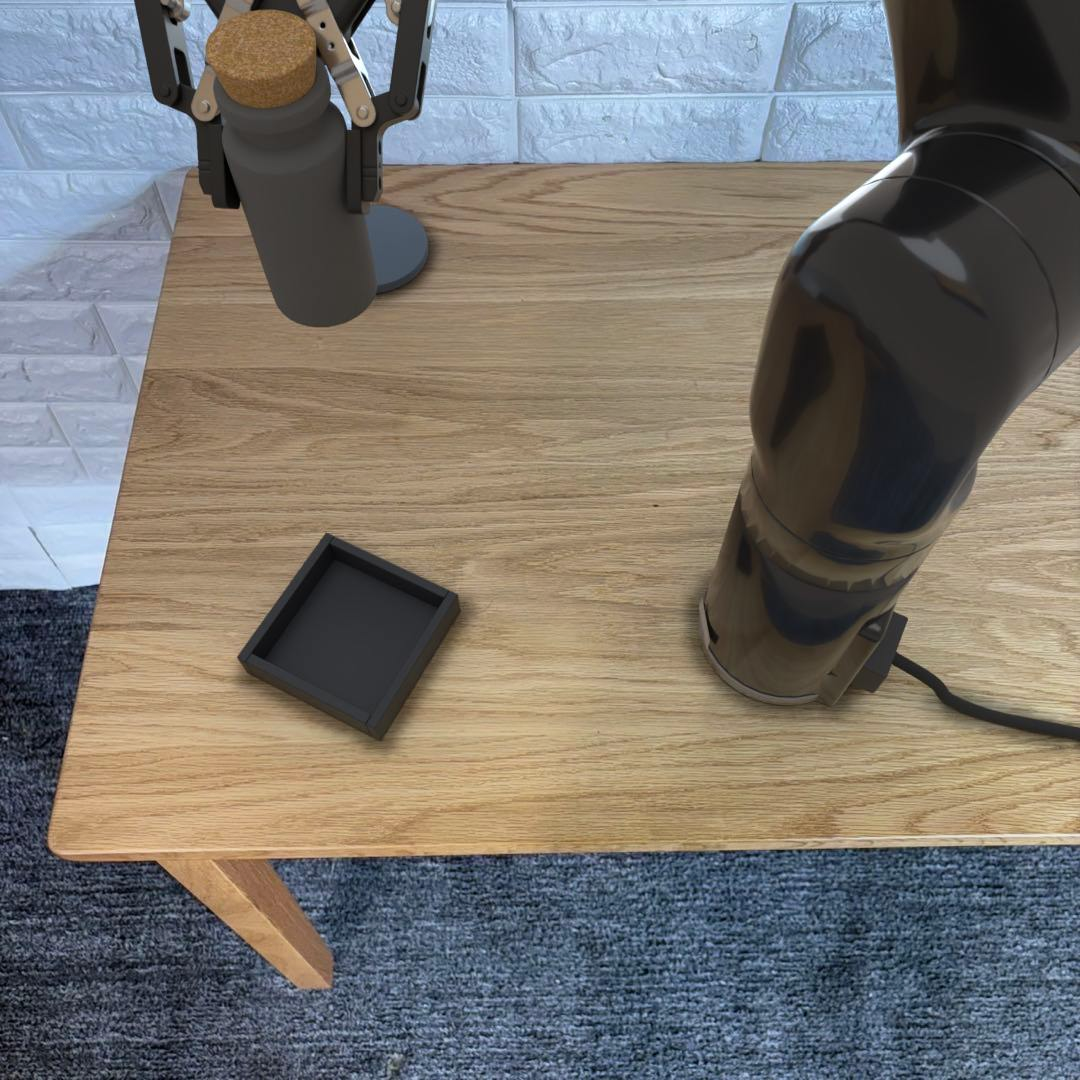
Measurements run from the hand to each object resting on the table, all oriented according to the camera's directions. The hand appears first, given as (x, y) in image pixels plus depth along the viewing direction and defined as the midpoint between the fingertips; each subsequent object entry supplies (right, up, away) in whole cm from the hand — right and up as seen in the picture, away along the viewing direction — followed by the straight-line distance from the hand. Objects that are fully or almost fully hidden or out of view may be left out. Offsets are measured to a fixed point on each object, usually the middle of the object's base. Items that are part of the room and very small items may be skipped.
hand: (293, 209), depth 49 cm
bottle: (0, -2, +7) cm, 8 cm away
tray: (+1, -22, +11) cm, 25 cm away
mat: (-1, +6, +27) cm, 27 cm away
